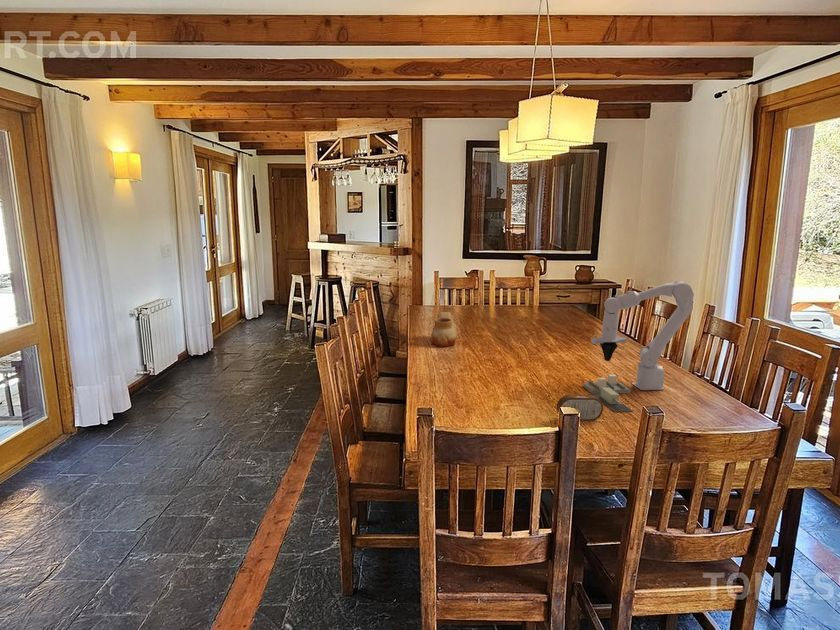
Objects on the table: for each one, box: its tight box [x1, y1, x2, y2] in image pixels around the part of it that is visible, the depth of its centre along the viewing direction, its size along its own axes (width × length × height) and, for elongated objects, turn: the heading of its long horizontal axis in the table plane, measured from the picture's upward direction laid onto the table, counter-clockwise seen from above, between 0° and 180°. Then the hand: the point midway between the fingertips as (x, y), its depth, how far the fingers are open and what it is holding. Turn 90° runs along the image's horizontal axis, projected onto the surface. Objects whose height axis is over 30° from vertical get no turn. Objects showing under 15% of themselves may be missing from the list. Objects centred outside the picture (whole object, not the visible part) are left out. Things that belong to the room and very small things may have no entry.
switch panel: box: [582, 380, 631, 395], centre depth 202 cm, size 15×9×2 cm, turn 95°
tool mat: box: [592, 394, 634, 413], centre depth 188 cm, size 7×18×1 cm, turn 5°
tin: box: [556, 394, 604, 422], centre depth 171 cm, size 15×3×8 cm, turn 92°
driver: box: [601, 388, 623, 406], centre depth 187 cm, size 3×13×4 cm, turn 5°
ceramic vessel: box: [430, 311, 458, 348], centre depth 274 cm, size 14×26×15 cm, turn 175°
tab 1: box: [596, 377, 608, 389], centre depth 199 cm, size 3×2×4 cm
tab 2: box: [606, 374, 618, 385], centre depth 204 cm, size 3×2×4 cm
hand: (607, 360), depth 209 cm, fingers closed
